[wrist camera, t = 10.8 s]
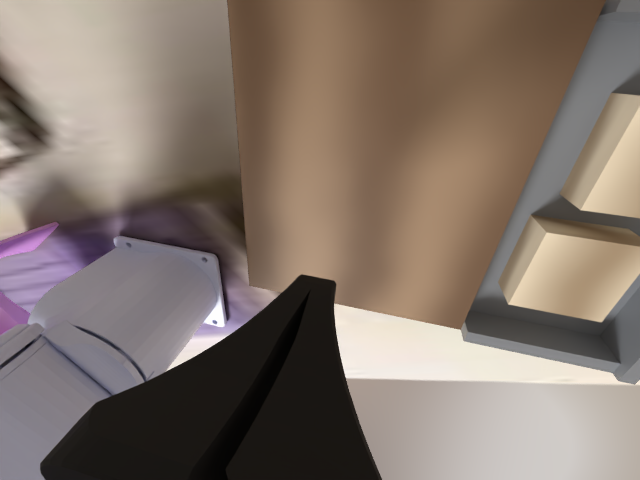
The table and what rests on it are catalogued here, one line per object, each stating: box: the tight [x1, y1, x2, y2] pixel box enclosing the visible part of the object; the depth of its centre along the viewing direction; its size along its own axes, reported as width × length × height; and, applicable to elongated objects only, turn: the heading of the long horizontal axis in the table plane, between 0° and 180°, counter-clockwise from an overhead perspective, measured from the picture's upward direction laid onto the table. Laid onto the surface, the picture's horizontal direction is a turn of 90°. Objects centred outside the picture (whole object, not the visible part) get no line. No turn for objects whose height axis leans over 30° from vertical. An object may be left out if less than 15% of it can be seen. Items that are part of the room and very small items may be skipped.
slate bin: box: [461, 0, 640, 384], centre depth 14 cm, size 9×17×4 cm, turn 176°
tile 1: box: [498, 215, 640, 322], centre depth 15 cm, size 4×4×2 cm
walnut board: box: [227, 0, 606, 330], centre depth 16 cm, size 14×16×3 cm
